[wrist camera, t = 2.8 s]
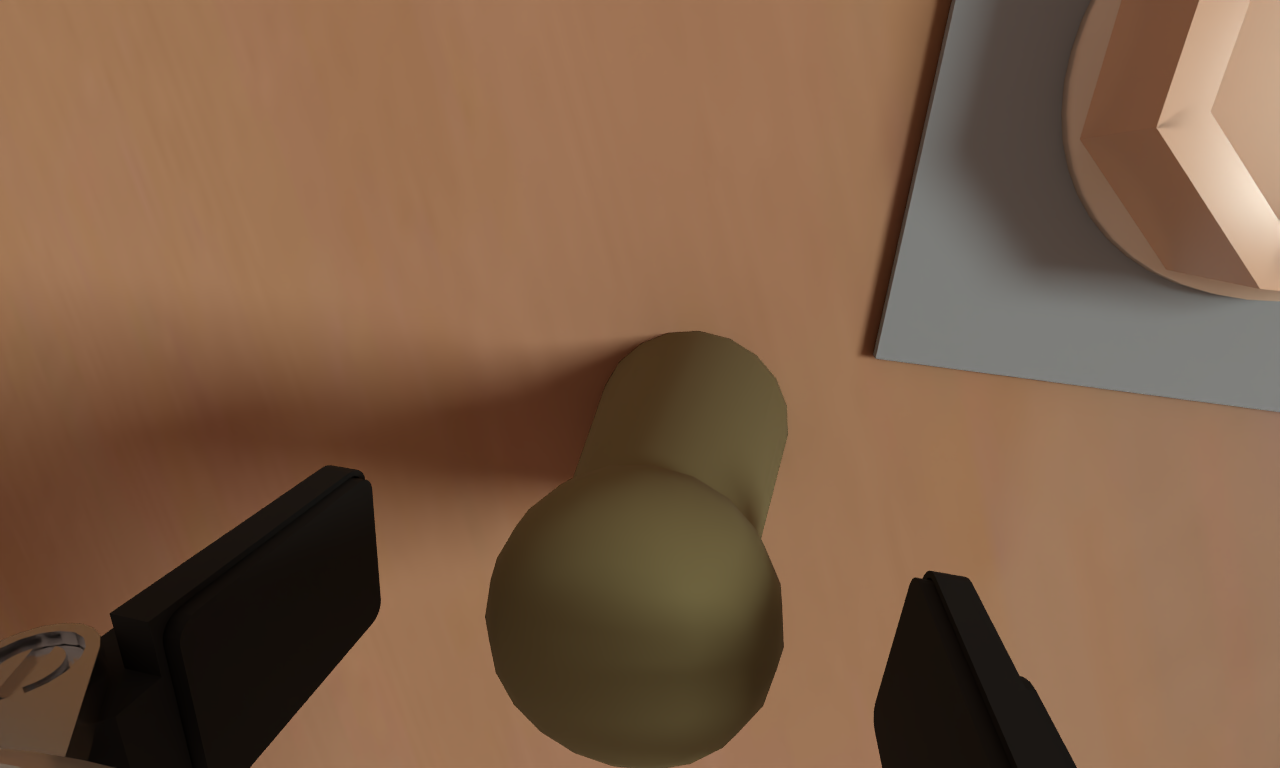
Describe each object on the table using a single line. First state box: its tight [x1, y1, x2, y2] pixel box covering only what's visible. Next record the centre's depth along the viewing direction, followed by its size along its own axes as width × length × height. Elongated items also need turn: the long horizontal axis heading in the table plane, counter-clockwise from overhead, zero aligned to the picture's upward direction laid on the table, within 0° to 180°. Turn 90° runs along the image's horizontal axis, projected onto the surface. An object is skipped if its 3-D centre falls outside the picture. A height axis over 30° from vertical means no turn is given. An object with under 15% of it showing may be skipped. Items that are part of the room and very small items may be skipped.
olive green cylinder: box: [485, 331, 788, 768], centre depth 14 cm, size 6×6×11 cm
